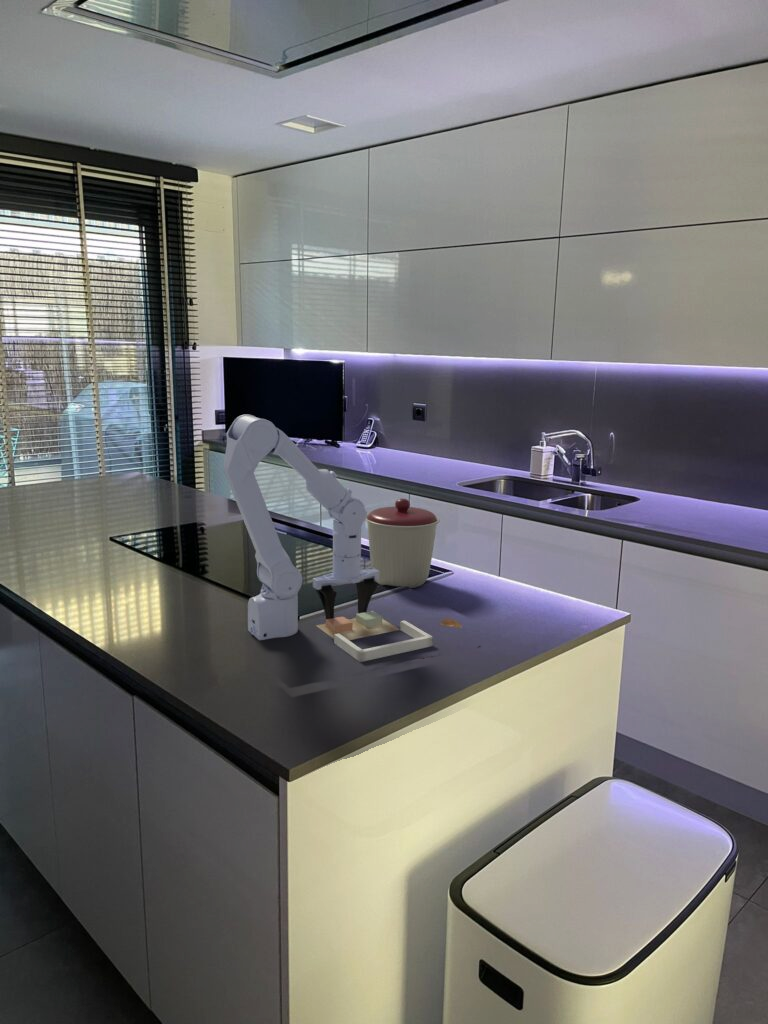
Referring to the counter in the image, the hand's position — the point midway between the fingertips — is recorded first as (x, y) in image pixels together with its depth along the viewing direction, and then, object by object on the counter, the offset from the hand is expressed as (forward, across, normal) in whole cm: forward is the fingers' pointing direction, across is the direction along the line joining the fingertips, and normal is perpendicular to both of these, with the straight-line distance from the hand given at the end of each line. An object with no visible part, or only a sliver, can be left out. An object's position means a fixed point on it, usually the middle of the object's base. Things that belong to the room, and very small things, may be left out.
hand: (345, 617), depth 161 cm
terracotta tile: (+1, -4, -4) cm, 5 cm away
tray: (+2, 0, -14) cm, 15 cm away
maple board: (+2, 0, -5) cm, 5 cm away
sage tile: (+1, +4, -4) cm, 5 cm away
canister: (+2, +26, +19) cm, 32 cm away
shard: (+2, +18, -9) cm, 21 cm away
